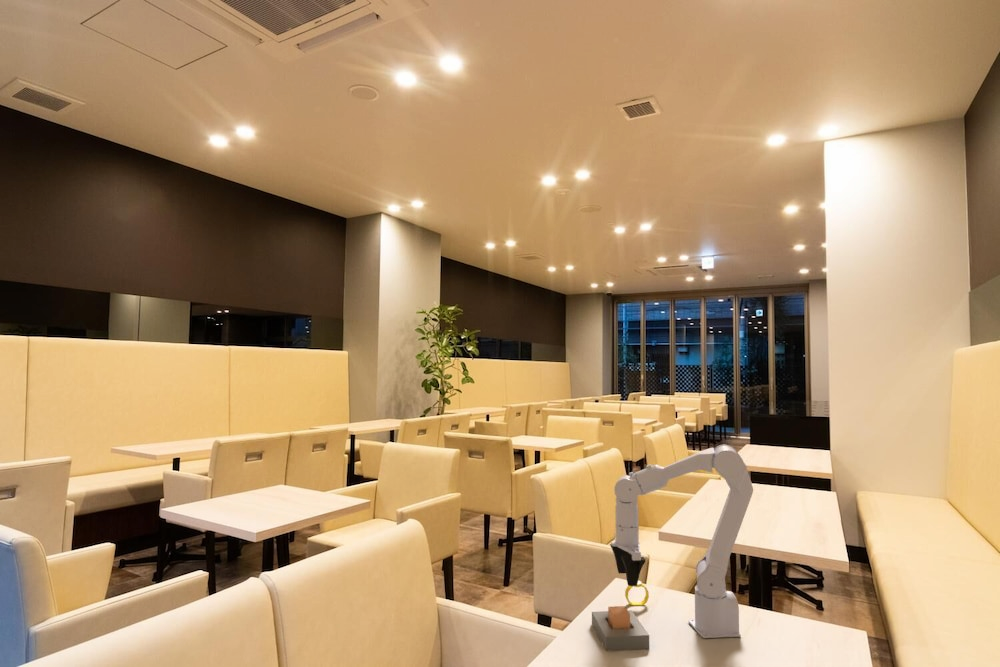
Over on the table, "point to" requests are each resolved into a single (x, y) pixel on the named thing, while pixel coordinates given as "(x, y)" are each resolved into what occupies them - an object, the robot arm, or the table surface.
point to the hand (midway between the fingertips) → (627, 578)
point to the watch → (637, 602)
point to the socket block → (620, 633)
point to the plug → (618, 617)
